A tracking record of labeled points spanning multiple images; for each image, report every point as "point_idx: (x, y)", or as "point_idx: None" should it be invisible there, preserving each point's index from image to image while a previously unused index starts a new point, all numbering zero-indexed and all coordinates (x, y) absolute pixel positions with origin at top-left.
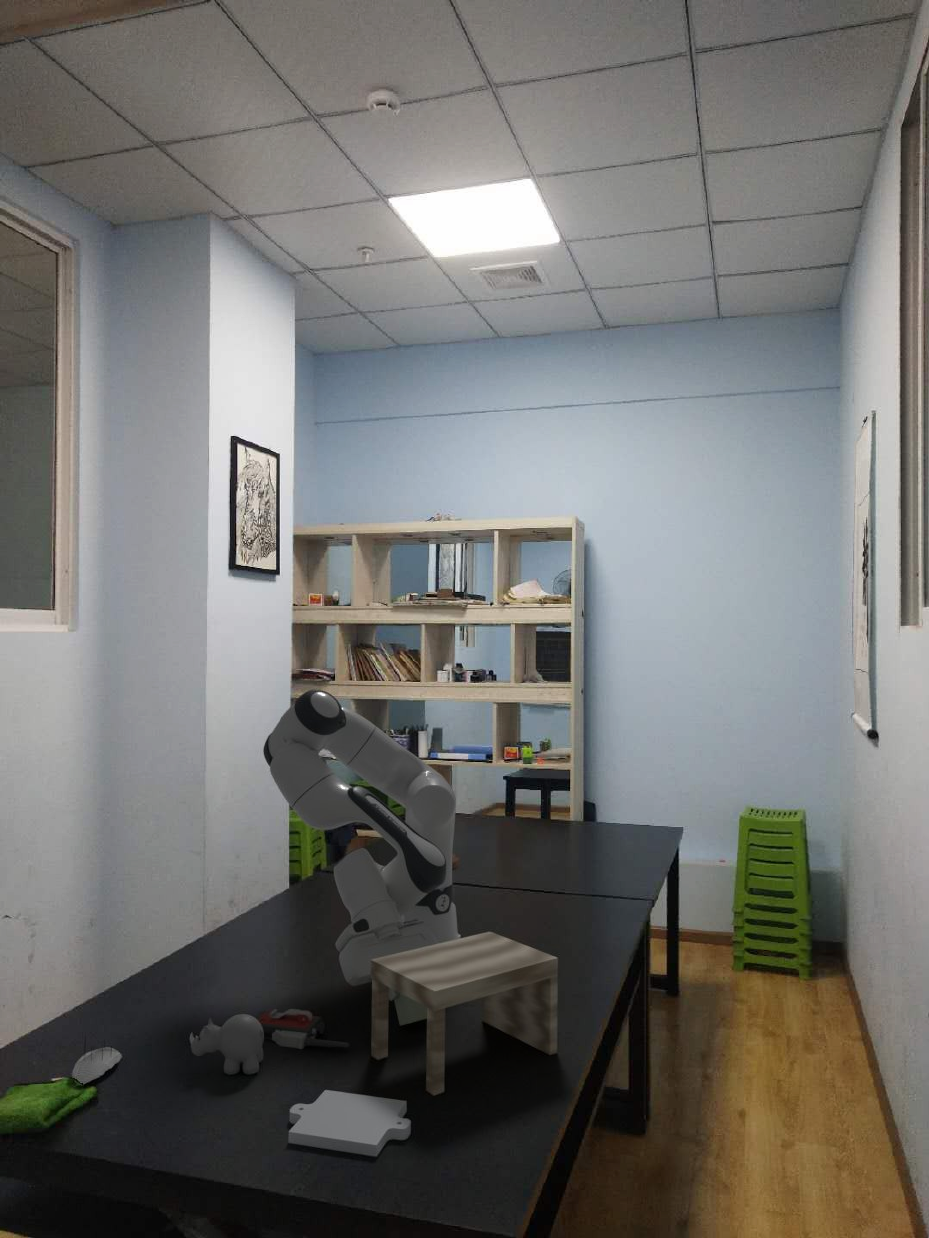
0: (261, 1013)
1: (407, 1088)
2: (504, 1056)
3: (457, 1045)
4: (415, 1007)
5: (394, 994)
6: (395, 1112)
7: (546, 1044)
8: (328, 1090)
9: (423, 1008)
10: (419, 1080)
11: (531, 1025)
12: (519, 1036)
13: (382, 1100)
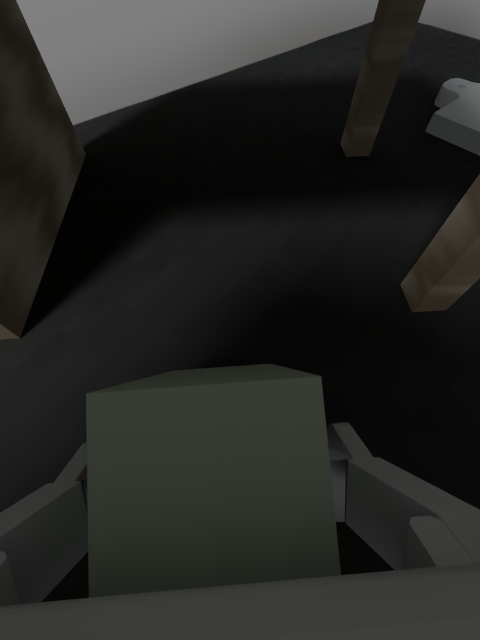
0: None
1: (400, 172)
2: (157, 181)
3: (202, 254)
4: (239, 368)
5: (343, 422)
6: (461, 101)
7: (76, 142)
8: None
9: (199, 370)
10: (366, 182)
11: (49, 144)
12: (60, 208)
13: (476, 126)
